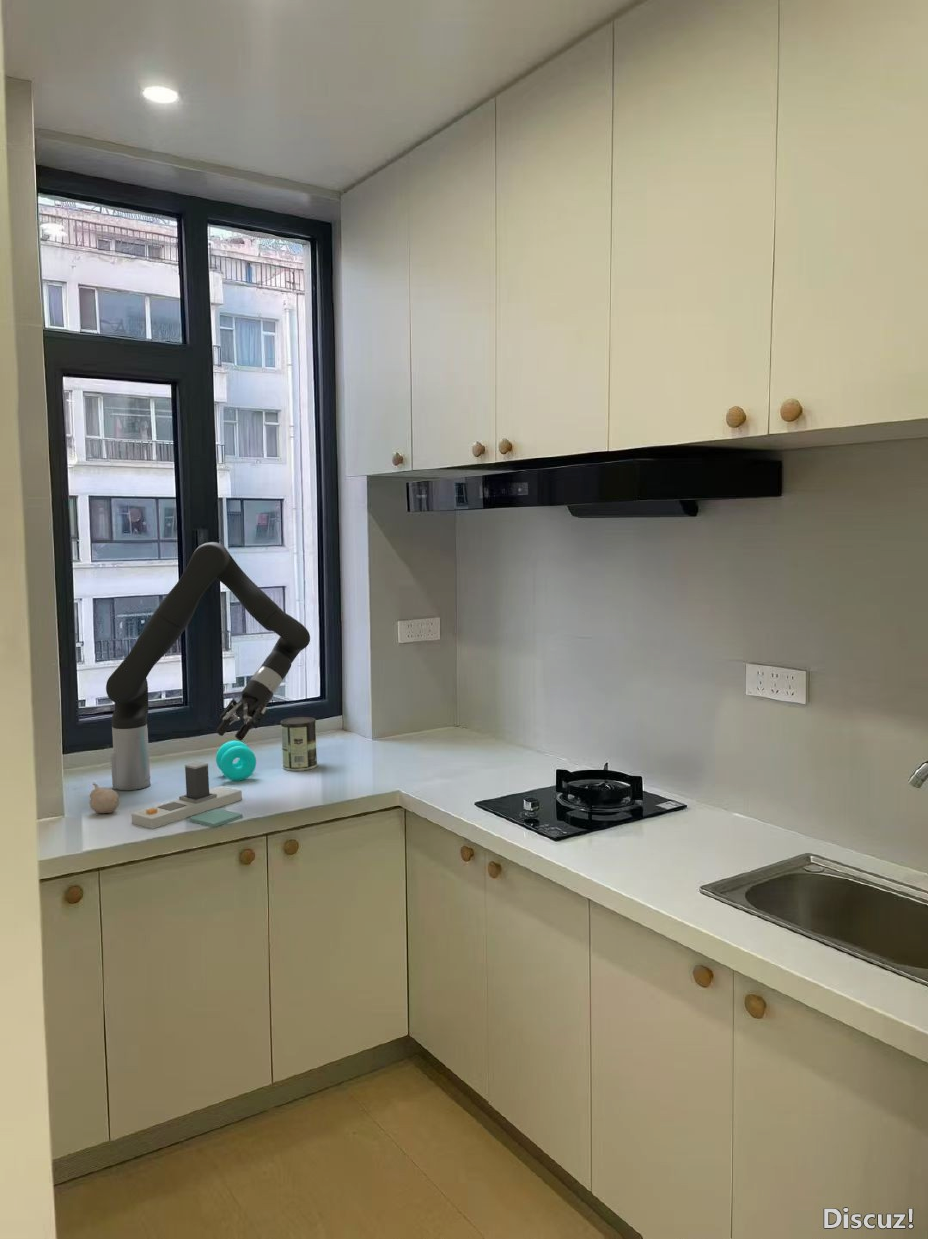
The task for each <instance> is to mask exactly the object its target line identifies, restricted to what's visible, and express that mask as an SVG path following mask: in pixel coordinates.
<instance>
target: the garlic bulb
mask: <svg viewBox="0 0 928 1239" xmlns="http://www.w3.org/2000/svg"><path fill="white" fill-rule="evenodd" d="M92 785H93V786H94V789H93V790H92V791H91V792H90V794H89V798H90V800H89V801H90V802H89V806H90V809H92V811H93V812H96V813H97V814H111V813H113V812H115V811H116V810H117V809H118V807H119V805H120V801H121V800H120V795H119V794H118V793H117V791H115V790H114V789H111V788H109V787H100V786H98V784H96V783H95V782H92Z"/></svg>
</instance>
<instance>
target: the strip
mask: <svg viewBox="0 0 928 1239" xmlns="http://www.w3.org/2000/svg"><path fill="white" fill-rule="evenodd" d="M242 793H243V791H242V790H241V789H237V788H232V787H227V786H223V785H220V786H217V787H213V788H209V796H207V797H204V798H200V799H197V800H195V799H191V798H187V794H184V795H180V796H178V798H176V799H173V800H170V801H168V802H164V803H162V804H157V805H155V806H151V807H148V808H144V809H141V810H139V811H135V812H132V813H130V814H131V815H130V816H131V818H130V819H131V824H134V825H137V826H141V827H145V828H148V829H155V828H159V827H161V826H165V825H167V824H171V823H173V822H177V821H180V820H183V819H186V818H190V817H193V816H196V815H199V814H202V813H205V812H208V811H211V810H214V809H218V808H219V807H223V806H226V805H229V804H232V803H235V802H238V801H241V800H243V794H242Z"/></svg>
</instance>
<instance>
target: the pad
mask: <svg viewBox="0 0 928 1239" xmlns="http://www.w3.org/2000/svg"><path fill="white" fill-rule="evenodd" d="M243 815H244V814H243V813H239V812H236V811H231V810H228V809H224V808H219V807H217V808H214V809H211V810H208V811H205V812H202V813H199V814H196V815H193V816H189V817H188V818H189V822H191V823H196V824H201V825H203V826H204V825H205V826H208V827H211V828H212V827H213V828H217V827H218V826H221V825H224V824H227V823H230V822H233V821H235V820H239V819H242V818H243V817H244V816H243Z"/></svg>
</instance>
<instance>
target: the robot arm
mask: <svg viewBox="0 0 928 1239" xmlns="http://www.w3.org/2000/svg"><path fill="white" fill-rule="evenodd" d="M215 580H217V581H219V582H220V583H222V584H223V585H224V586H225V587H226V588H227V589H228V590H229V591H230V592H231V593H232V594H233V595H234V596H235V597H236V599H237V600H238V602H240V605H242V607H243V609H245V610H246V612H248V614H249V615H250V616H251V617H252V618H253V619H255V621H256V622H257V623H258V624H259V625H260V626H262V627H263V628H264V630H266V631H267V632H273V633H275V634H276V635H278V636H279V637H278V639H277V641H276V643H275V645H274V646H273V648H272V649H271V652H270V653H269V655H268V656H267V657H266V658H265V660H264V661H263V662H262V664H261V665H260V667H259V668H258V669H256V671H255V673H254V674H253V675H252V677H251V678H250V680H249V681H248V683H247V684H246V685H245V687H244V688H243V689H242V691H241V699H240V700H239V701H236V700H235V699H234V698H233V699H231V700H230V702H229V703H228V705H227V706H225V708H224V710H223V711H222V712H221V714H220V716H219V717H220V718H221V719H222V722H220V724H219V725H218V727H217V728H216V731H215V732H216V733H217V734H218V735H219V736H220V737H224V735H225V733H226V732H227V730H228V729H229V728H230V727H231V725H232V723H235V722H238V721H240V720H243V724H242V725H241V726H240V728H239V729H238V730H237V731H236V733H235V735H234V737H235V738H236V740H237V741H240V742H242V741H243V740H244V738H245V737H246V735H247V734H248V732H249V731H251V730H253V729H258V728H259V726H260V724H261V723H262V722H263V720H264V718H265V717H266V715H267V713H268V712H269V709H267V708H266V707H267V705H268V704H269V702H270V701H271V700H272V698H273V697H274V695H275V694H276V692H277V690H278V689H279V688H280V686H281V684H282V681H283V680H284V679H285V677H286V676H287V674H288V673H289V671H290V669H291V667H292V664H293V663H294V661H295V660H296V658H297V657H298V655H299V654H300V653H301V651H303V650H304V649H306V648H307V647H308V645H309V644H310V642H311V633H310V632H309V630H308V629H307V627H306V626H304V625H303V624H302V623H301V622H300V621H298V620H297V619H295V618H294V617H292V616H291V615H290V614H288V613H286V612H285V611H283V609H282V608H281V607H280V606H279V605H278V604H277V603H276V602H274V600H272V598H270V597H269V596H268V595H267V594H266V593H265V592H264V591H263V590H262V589H261V588H260V587H259V586H258V585H257V584H256V583H255V582H253V581H252V579H251V578H250V577H249V576H248V575H247V574H246V573H245V572H244V570H242V568H241V567H240V566H239V564H238V563H237V561H235V559H234V558H233V556H232V555H231V553H230V552H229V551H228V550H227V548H226V547H225V545H223V544H221V543H219V542H216V541H209V542H205V543H202V544H200V545H199V546H198V547H197V548H196V549H195V550H194V552H193V553H192V555H191V558H190V559H189V561H188V563H187V566H186V567H185V569H184V570H183V573H182V575H181V576H180V578H179V579H178V581H177V582H176V583H175V585H174V586H173V588H171V590H170V591H168V593H167V594H166V596H164V599H163V600H162V601H161V602H160V604H159V605H158V607H157V608H156V609H155V611H154V612H153V614H152V615H151V617H149V619H148V621H147V623H146V624H145V626H144V628H143V629H142V631H141V633H140V634H139V636H138V638H137V639H136V641H135V643H134V645H133V646H132V648H131V649H130V651H129V653H128V654H127V656H126V657H125V658H124V659H123V661H122V662H121V663H120V664H119V665H118V667H117V668H116V669H115V670H114V671H113V672H112V673H111V674H110V676H109V678H108V679H107V681H106V686H105V691H106V692H105V693H106V695H107V697H108V698H109V699H110V701H112V702H113V703H114V711H113V714H112V717H111V730H112V731H111V734H112V748H113V749H112V750H113V753H111V755H110V764H111V768H110V769H111V780H112V781H111V782H112V790H119V791H135V790H141V789H145V788H148V787H149V786H150V785H151V770H150V769H151V768H150V750H149V734H148V732H149V730H148V715H149V686H148V679H147V677H148V676H149V674H150V672H151V671H152V669H153V667H154V666H156V664H157V663H158V662H159V661H160V660H161V659H162V657H164V656H165V654H167V653H168V651H169V650H170V649H172V647H173V646H174V645H175V644H176V642H177V641H178V640H179V639H180V637H181V636H182V634H183V633H184V631H185V629H186V628H187V626H188V625H189V623H190V621H191V619H192V618H193V616H194V614H195V612H196V609H197V607H198V605H199V602H200V601H201V599H202V597H203V595H204V594H205V592H206V591H207V589H209V587H210V586H211V585H212V583H213V582H214V581H215ZM256 719H257V720H256Z"/></svg>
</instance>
